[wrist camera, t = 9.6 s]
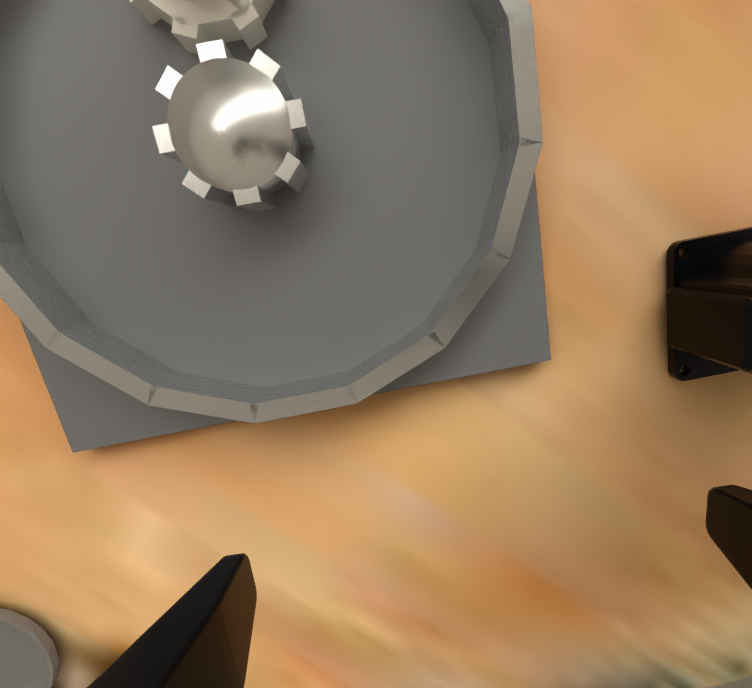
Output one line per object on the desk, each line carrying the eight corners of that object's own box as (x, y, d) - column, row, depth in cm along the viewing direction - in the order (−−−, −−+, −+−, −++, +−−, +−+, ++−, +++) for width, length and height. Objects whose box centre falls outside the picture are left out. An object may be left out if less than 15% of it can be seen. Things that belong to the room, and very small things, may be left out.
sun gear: (298, 67, 16) (285, 27, 13) (325, 198, 17) (319, 190, 14) (173, 90, 16) (131, 56, 13) (208, 221, 17) (177, 216, 14)
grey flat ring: (483, -249, 14) (504, -329, 12) (538, 351, 19) (560, 364, 17) (-145, -136, 14) (-228, -198, 12) (80, 440, 19) (48, 463, 17)
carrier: (487, -238, 15) (523, -367, 12) (541, 354, 20) (576, 375, 17) (-133, -126, 14) (-266, -227, 11) (86, 442, 20) (37, 479, 17)
